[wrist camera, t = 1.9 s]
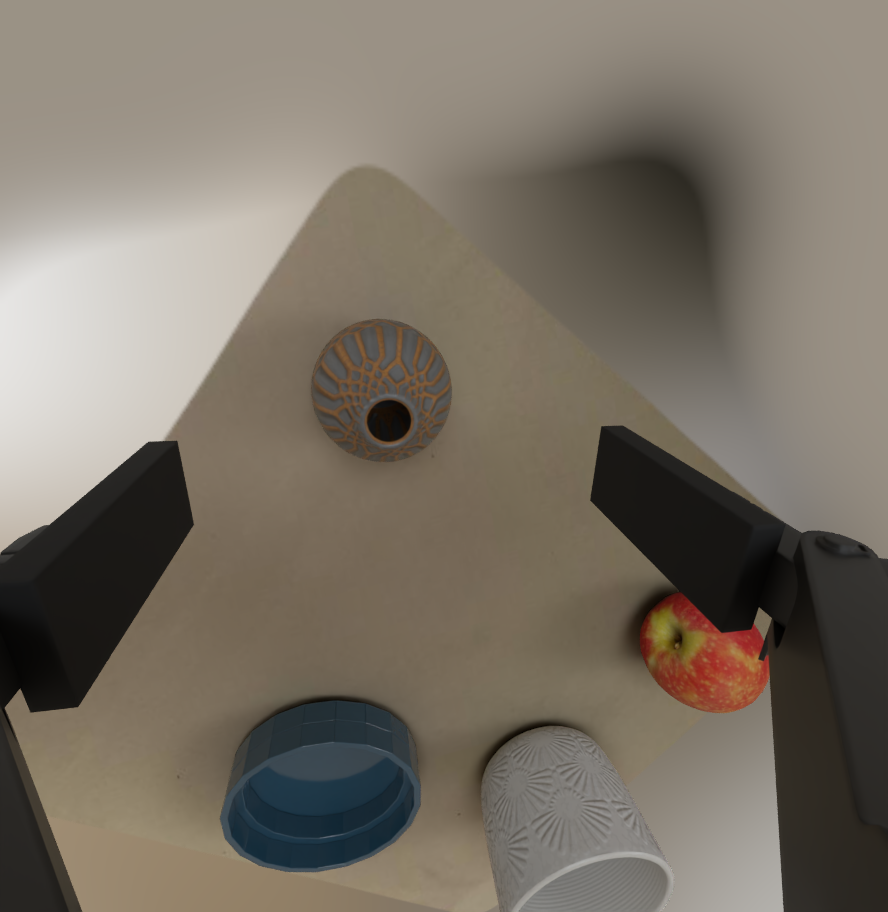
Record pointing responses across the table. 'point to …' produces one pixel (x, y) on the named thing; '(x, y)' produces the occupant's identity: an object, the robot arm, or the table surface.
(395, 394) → the vase
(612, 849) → the planter
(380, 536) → the table surface
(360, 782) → the bowl
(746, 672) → the apple
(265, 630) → the table surface
